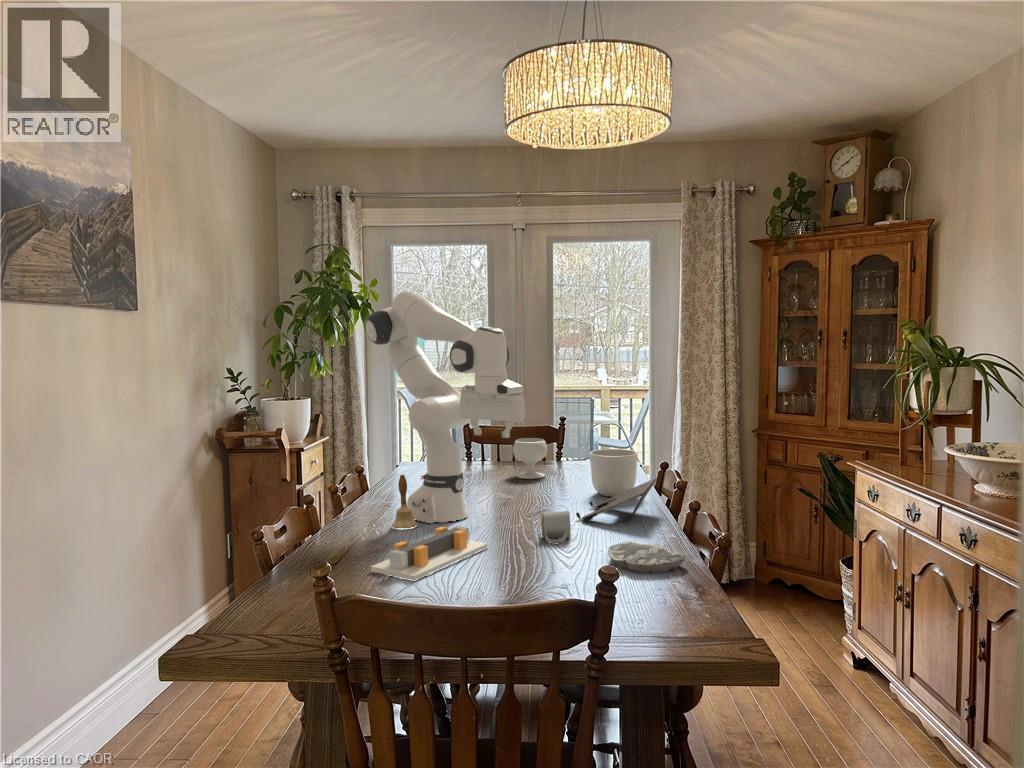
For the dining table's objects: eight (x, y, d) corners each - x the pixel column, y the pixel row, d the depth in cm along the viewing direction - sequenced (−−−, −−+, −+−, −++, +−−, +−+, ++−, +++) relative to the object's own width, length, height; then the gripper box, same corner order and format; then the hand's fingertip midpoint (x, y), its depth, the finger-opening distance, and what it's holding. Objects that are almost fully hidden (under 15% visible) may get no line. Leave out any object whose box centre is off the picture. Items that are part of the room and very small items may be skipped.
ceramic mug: (542, 533, 207) (541, 507, 206) (570, 533, 206) (570, 507, 205) (540, 545, 196) (540, 517, 196) (570, 545, 196) (570, 517, 195)
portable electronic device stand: (604, 524, 238) (591, 499, 239) (666, 498, 230) (653, 472, 231) (585, 543, 217) (572, 516, 218) (653, 515, 209) (639, 486, 210)
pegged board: (370, 572, 176) (370, 548, 175) (446, 541, 201) (446, 520, 200) (414, 582, 168) (413, 557, 167) (487, 548, 193) (487, 527, 193)
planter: (636, 489, 263) (635, 448, 262) (639, 500, 246) (639, 456, 245) (589, 489, 265) (589, 448, 264) (590, 499, 248) (589, 456, 247)
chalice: (507, 475, 293) (507, 439, 292) (538, 472, 299) (537, 436, 298) (522, 481, 280) (521, 443, 279) (553, 478, 286) (553, 441, 285)
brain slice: (590, 565, 179) (590, 553, 179) (630, 549, 191) (630, 538, 191) (656, 583, 165) (656, 571, 165) (695, 566, 177) (695, 554, 177)
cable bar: (390, 567, 174) (389, 551, 174) (457, 540, 196) (457, 525, 196) (402, 570, 172) (401, 554, 171) (469, 542, 194) (468, 527, 194)
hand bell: (397, 532, 211) (396, 478, 210) (386, 526, 218) (384, 474, 217) (423, 527, 216) (421, 475, 215) (411, 521, 223) (409, 471, 222)
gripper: (454, 385, 198) (454, 434, 199) (515, 388, 187) (515, 440, 188) (467, 384, 203) (468, 432, 204) (528, 386, 192) (528, 437, 193)
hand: (491, 436), depth 196 cm, fingers open, 8 cm apart
